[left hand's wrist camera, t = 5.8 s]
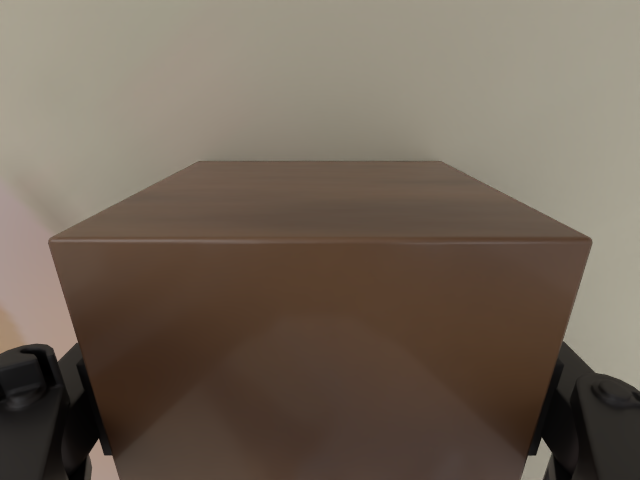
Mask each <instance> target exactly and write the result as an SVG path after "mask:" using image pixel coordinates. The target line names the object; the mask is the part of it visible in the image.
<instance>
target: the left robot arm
mask: <svg viewBox="0 0 640 480" xmlns="http://www.w3.org/2000/svg"><path fill="white" fill-rule="evenodd" d="M541 438H543V440H544V441H545V443H546V444H547V446H548V447H549V449H550V450H551V452H552V454H551V457H550V460H549V463H548V466H547V469H546V472H545V475H544V478H543V480H640V391H638V390H637V389H636V388H634V387H633V386H631V385H629V384H627V383H625V382H623V381H622V380H619V379H617V378H614V377H611V376H608V375H604V374H598V373H595V372H594V371H593V370H592V369H591V368H590V367H589V366H588V365H587V364H586V363H585V362H584V361H583V360H582V359H581V358H580V357H579V356H578V355H577V354H576V353H575V352H574V351H573V350H572V349H571V348H570V347H569V346H568V345H567V344H566V343H565V342H562V345H561V348H560V351H559V355H558V358H557V361H556V364H555V368H554V371H553V374H552V378H551V381H550V384H549V387H548V391H547V394H546V397H545V401H544V404H543V407H542V410H541V414H540V417H539V420H538V424H537V427H536V430H535V433H534V437H533V440H532V443H531V447H530V450H529V453H528V455H536V454H537V450H538V447H539V444H540V441H541ZM98 439H99V440H100V443H101V446H102V449H103V453H104V455H112V452H111V449H110V446H109V442H108V439H107V436H106V432H105V429H104V426H103V423H102V419H101V416H100V413H99V409H98V406H97V403H96V399H95V396H94V393H93V389H92V386H91V383H90V380H89V376H88V373H87V370H86V366H85V363H84V360H83V356H82V353H81V350H80V347H79V343H76V344H75V345H74V346H73V347H72V348H71V349H70V350H69V351H68V352H67V353H66V354H65V355H64V356H63V357H62V358H61V359H60V360H59V361H58V362H57V359H56V356H55V353H54V350H53V348H51V347H50V346H48V345H45V344H31V345H24V346H20V347H17V348H14V349H11V350H8V351H6V352H3V353H1V354H0V480H91V472H92V465H91V460H90V457H89V453H90V451H91V449H92V448H93V446H94V445H95V443H96V442H97V440H98Z"/></svg>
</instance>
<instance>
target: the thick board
mask: <svg viewBox="0 0 640 480" xmlns="http://www.w3.org/2000/svg"><path fill="white" fill-rule="evenodd" d="M48 244H49V247H50V251H51V254H52V257H53V260H54V264H55V267H56V271H57V274H58V277H59V280H60V284H61V287H62V290H63V294H64V297H65V300H66V304H67V307H68V310H69V313H70V317H71V320H72V323H73V327H74V330H75V333H76V337H77V340H78V343H79V347H80V350H81V353H82V356H83V360H84V363H85V366H86V370H87V373H88V376H89V380H90V383H91V386H92V389H93V393H94V396H95V399H96V403H97V406H98V409H99V413H100V416H101V419H102V423H103V426H104V429H105V432H106V436H107V439H108V442H109V446H110V449H111V452H112V456H113V459H114V462H115V465H116V469H117V472H118V475H119V479H120V480H521V476H522V473H523V470H524V466H525V463H526V460H527V456H528V453H529V450H530V447H531V443H532V440H533V437H534V433H535V430H536V427H537V424H538V420H539V417H540V414H541V410H542V407H543V404H544V401H545V397H546V394H547V391H548V387H549V384H550V381H551V378H552V374H553V371H554V368H555V364H556V361H557V358H558V355H559V351H560V348H561V345H562V341H563V338H564V335H565V332H566V328H567V325H568V322H569V318H570V315H571V312H572V309H573V305H574V302H575V299H576V295H577V292H578V289H579V286H580V282H581V279H582V276H583V272H584V269H585V266H586V263H587V259H588V256H589V253H590V249H591V246H592V239H591V238H590V237H588V236H586V235H584V234H582V233H580V232H578V231H576V230H574V229H572V228H570V227H568V226H566V225H564V224H562V223H560V222H558V221H557V220H555V219H553V218H551V217H549V216H547V215H545V214H543V213H541V212H539V211H537V210H535V209H533V208H531V207H529V206H527V205H525V204H523V203H521V202H519V201H518V200H516V199H514V198H512V197H510V196H508V195H506V194H504V193H502V192H500V191H498V190H496V189H494V188H492V187H490V186H488V185H486V184H484V183H482V182H480V181H478V180H477V179H475V178H473V177H471V176H469V175H467V174H465V173H463V172H461V171H459V170H457V169H455V168H453V167H451V166H449V165H447V164H445V163H443V162H441V161H199V162H196V163H194V164H193V165H191V166H189V167H187V168H185V169H183V170H181V171H179V172H177V173H175V174H173V175H171V176H169V177H167V178H165V179H163V180H162V181H160V182H158V183H156V184H154V185H152V186H150V187H148V188H146V189H144V190H142V191H140V192H138V193H136V194H134V195H132V196H131V197H129V198H127V199H125V200H123V201H121V202H119V203H117V204H115V205H113V206H111V207H109V208H107V209H105V210H103V211H101V212H100V213H98V214H96V215H94V216H92V217H90V218H88V219H86V220H84V221H82V222H80V223H78V224H76V225H74V226H72V227H70V228H68V229H67V230H65V231H63V232H61V233H59V234H57V235H55V236H53V237H51V238H50V239H49V242H48Z"/></svg>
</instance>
